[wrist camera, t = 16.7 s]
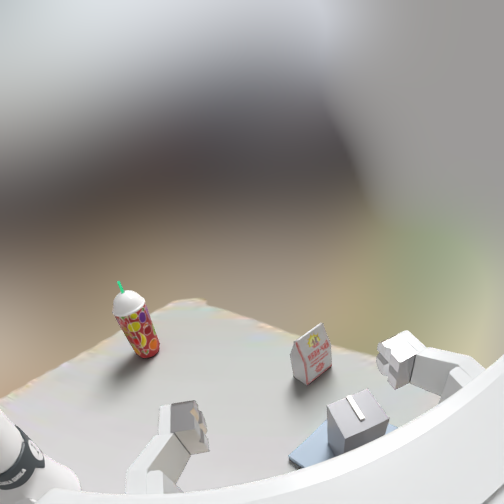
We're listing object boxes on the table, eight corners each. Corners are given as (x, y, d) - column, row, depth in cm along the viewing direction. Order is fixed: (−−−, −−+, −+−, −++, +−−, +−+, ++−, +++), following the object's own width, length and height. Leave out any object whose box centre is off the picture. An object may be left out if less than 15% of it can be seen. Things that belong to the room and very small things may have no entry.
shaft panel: (363, 504, 24) (371, 488, 21) (289, 458, 34) (283, 435, 32) (413, 438, 31) (424, 411, 29) (342, 406, 42) (343, 378, 39)
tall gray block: (379, 454, 30) (389, 416, 26) (341, 470, 29) (345, 437, 26) (362, 427, 35) (368, 386, 32) (327, 441, 35) (326, 403, 31)
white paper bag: (293, 376, 51) (287, 337, 48) (318, 358, 55) (314, 318, 51) (306, 385, 48) (301, 346, 45) (331, 365, 52) (329, 325, 48)
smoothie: (133, 347, 69) (103, 280, 62) (162, 337, 71) (135, 269, 64) (135, 365, 62) (100, 294, 54) (166, 355, 64) (135, 282, 57)
